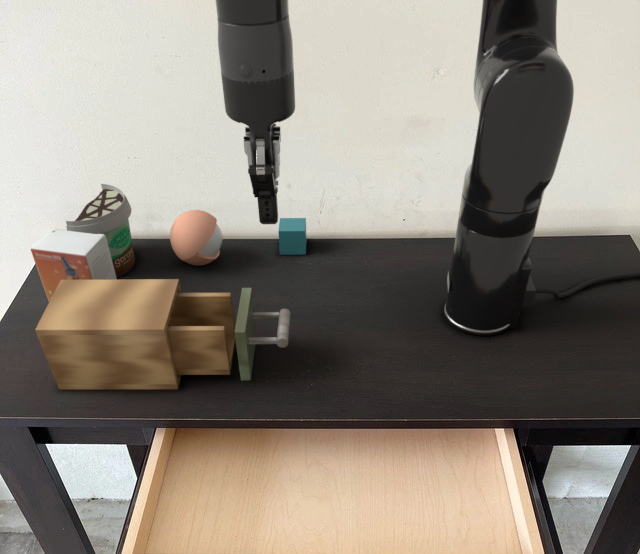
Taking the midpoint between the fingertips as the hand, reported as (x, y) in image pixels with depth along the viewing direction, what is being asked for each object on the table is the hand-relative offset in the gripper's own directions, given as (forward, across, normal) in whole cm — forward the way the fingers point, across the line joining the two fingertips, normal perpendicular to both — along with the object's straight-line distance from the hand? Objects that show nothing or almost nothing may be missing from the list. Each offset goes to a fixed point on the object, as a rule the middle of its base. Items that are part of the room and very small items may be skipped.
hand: (269, 220), depth 80 cm
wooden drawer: (+13, -10, +7) cm, 18 cm away
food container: (+14, +14, +24) cm, 31 cm away
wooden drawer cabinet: (+14, -9, +19) cm, 25 cm away
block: (+14, +18, -2) cm, 23 cm away
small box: (+14, +3, +26) cm, 30 cm away
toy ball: (+14, +14, +12) cm, 24 cm away
